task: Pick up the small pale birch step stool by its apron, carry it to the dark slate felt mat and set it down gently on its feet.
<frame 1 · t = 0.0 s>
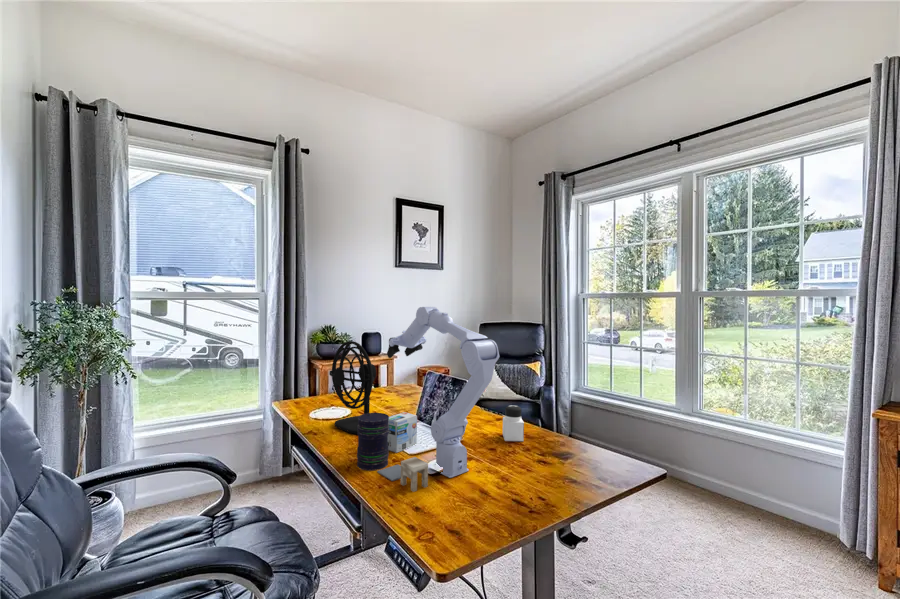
hand: (397, 354, 147), 32 cm above the table, tool tilted 50°, fingers open, 7 cm apart
light bulb box: (400, 447, 145), on the table
mat: (395, 473, 123), on the table
medicine bottle: (512, 438, 156), on the table
storage jar: (372, 464, 130), on the table
desk fan: (356, 427, 166), on the table
stool: (414, 485, 115), on the table
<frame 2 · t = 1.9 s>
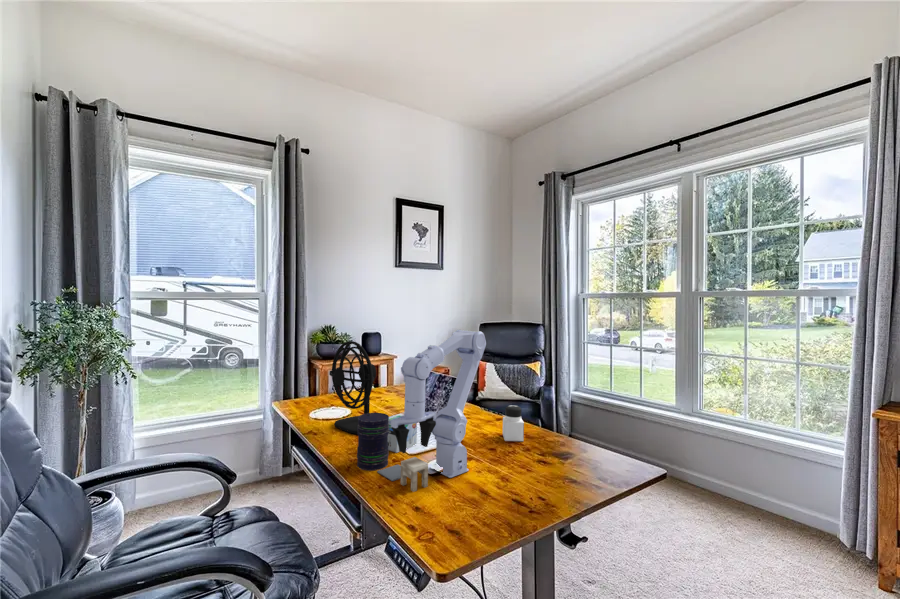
hand: (413, 448, 115), 10 cm above the table, tool pointing down, fingers open, 7 cm apart
nothing on the table moved.
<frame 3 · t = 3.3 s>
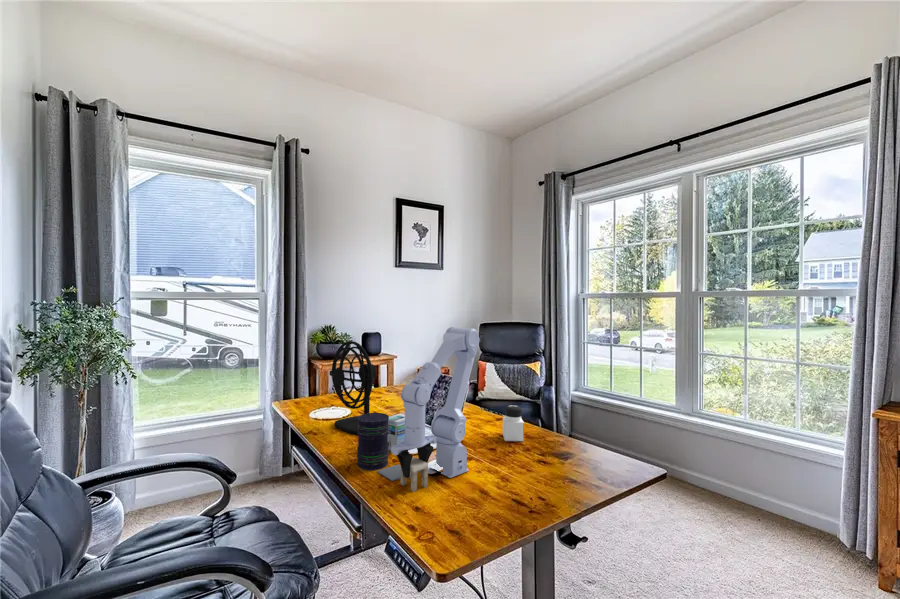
hand: (414, 473, 115), 3 cm above the table, tool pointing down, fingers closed on stool, 5 cm apart
stool: (414, 485, 115), on the table, touching gripper
everything else where it was.
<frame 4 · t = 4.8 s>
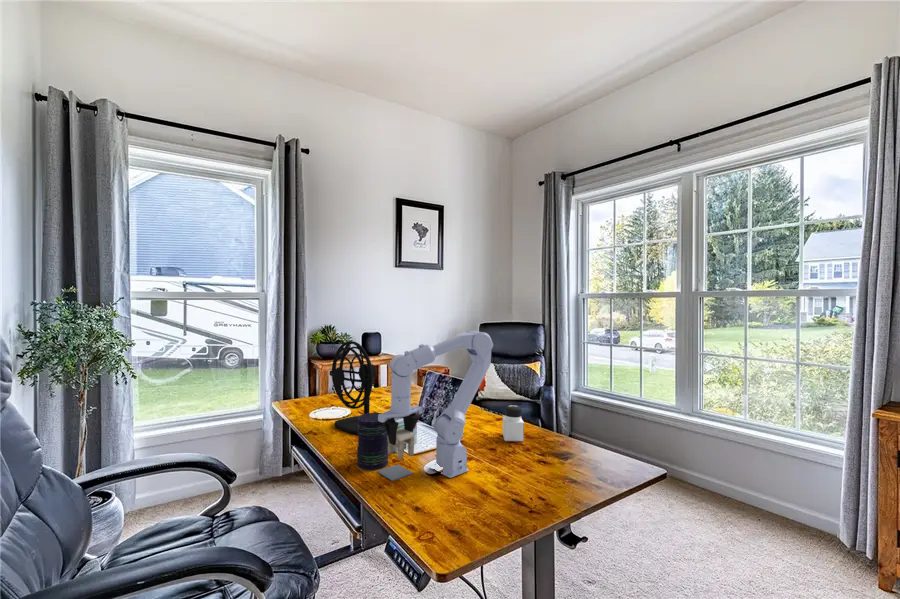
hand: (400, 441, 121), 10 cm above the table, tool pointing down, fingers closed on stool, 5 cm apart
stool: (400, 454, 121), point 7 cm above the table, touching gripper
everything else where it was.
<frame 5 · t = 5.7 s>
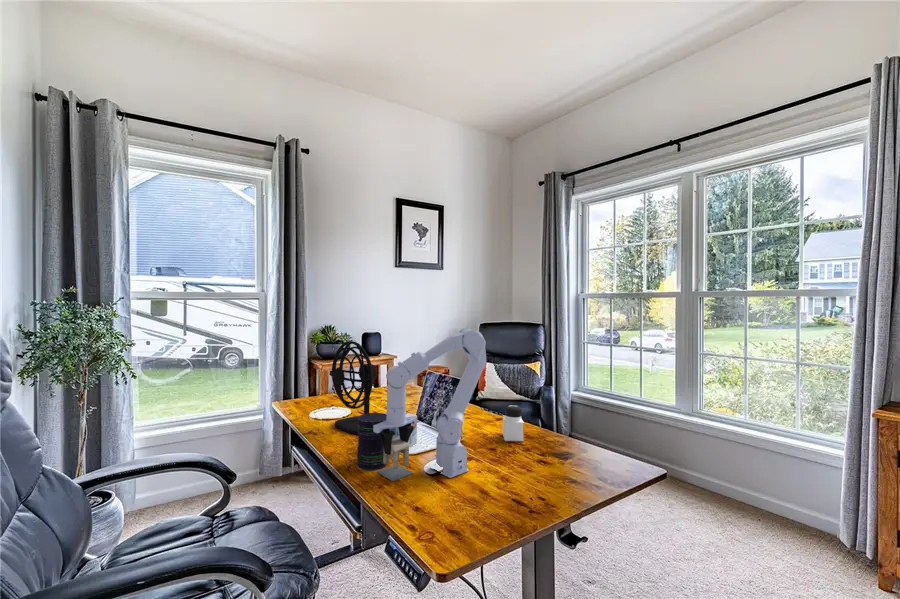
hand: (395, 451, 123), 6 cm above the table, tool pointing down, fingers closed on stool, 5 cm apart
stool: (395, 464, 123), point 3 cm above the table, touching gripper
everything else where it was.
when the fingers open (5 cm above the table, at t = 6.6 s): stool stays where it is, resting on mat.
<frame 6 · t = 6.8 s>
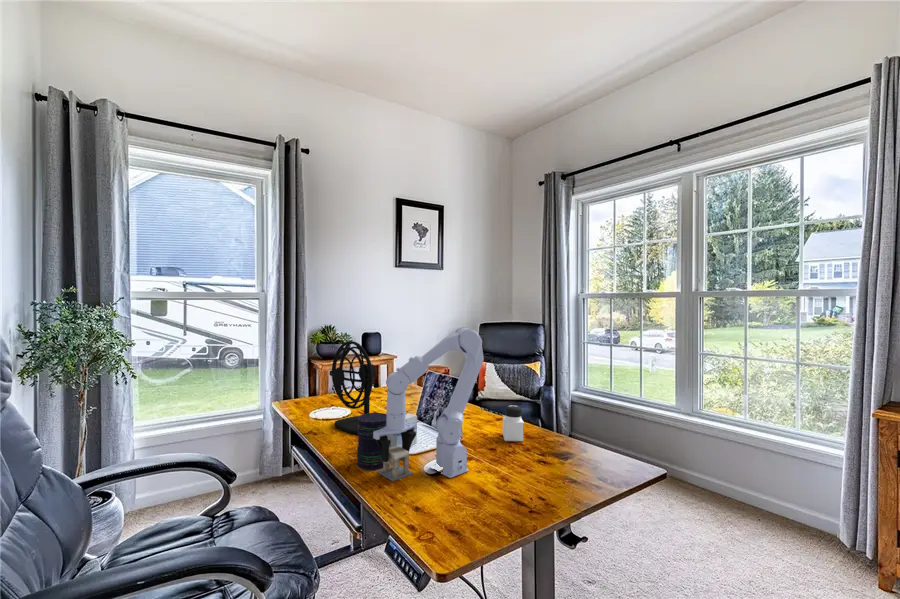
hand: (395, 457, 123), 5 cm above the table, tool pointing down, fingers open, 7 cm apart
stool: (395, 472, 123), resting on mat
everything else where it was.
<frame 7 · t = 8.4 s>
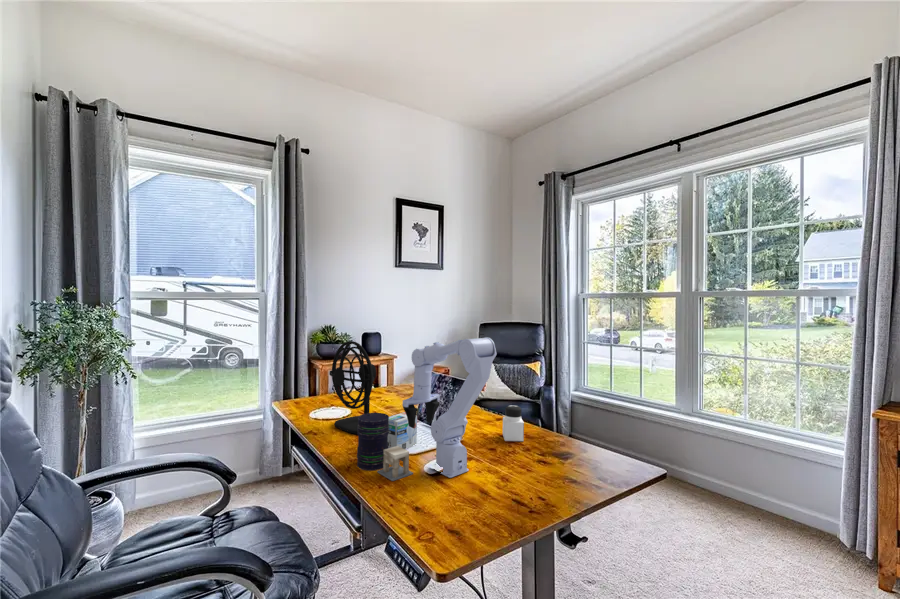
hand: (420, 424, 137), 10 cm above the table, tool pointing down, fingers open, 7 cm apart
nothing on the table moved.
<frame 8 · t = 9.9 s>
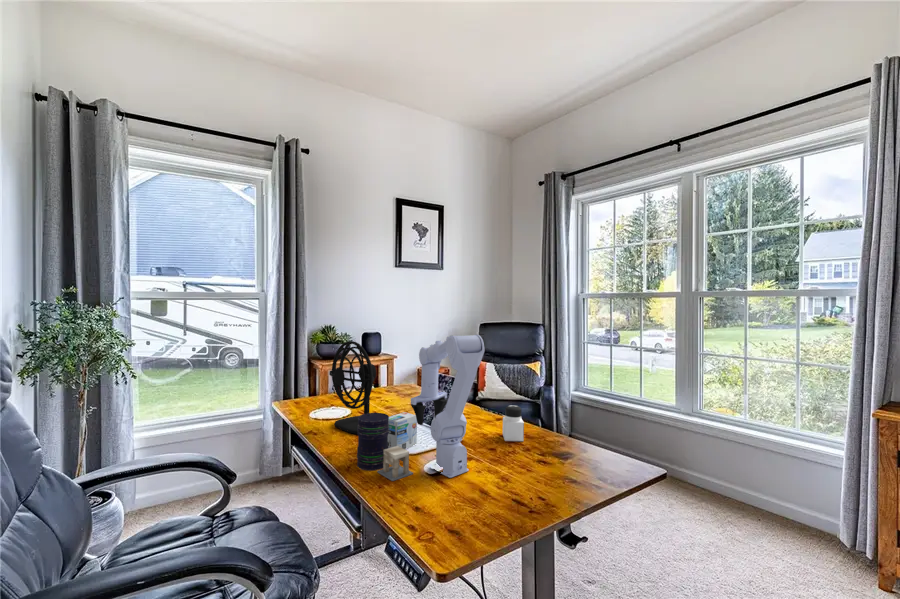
hand: (428, 422, 140), 10 cm above the table, tool pointing down, fingers open, 7 cm apart
nothing on the table moved.
at the end: stool 0.3 cm off-centre on the mat, point 0.4 cm above the mat's base; stool tilted 0°; the gripper is holding nothing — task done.
